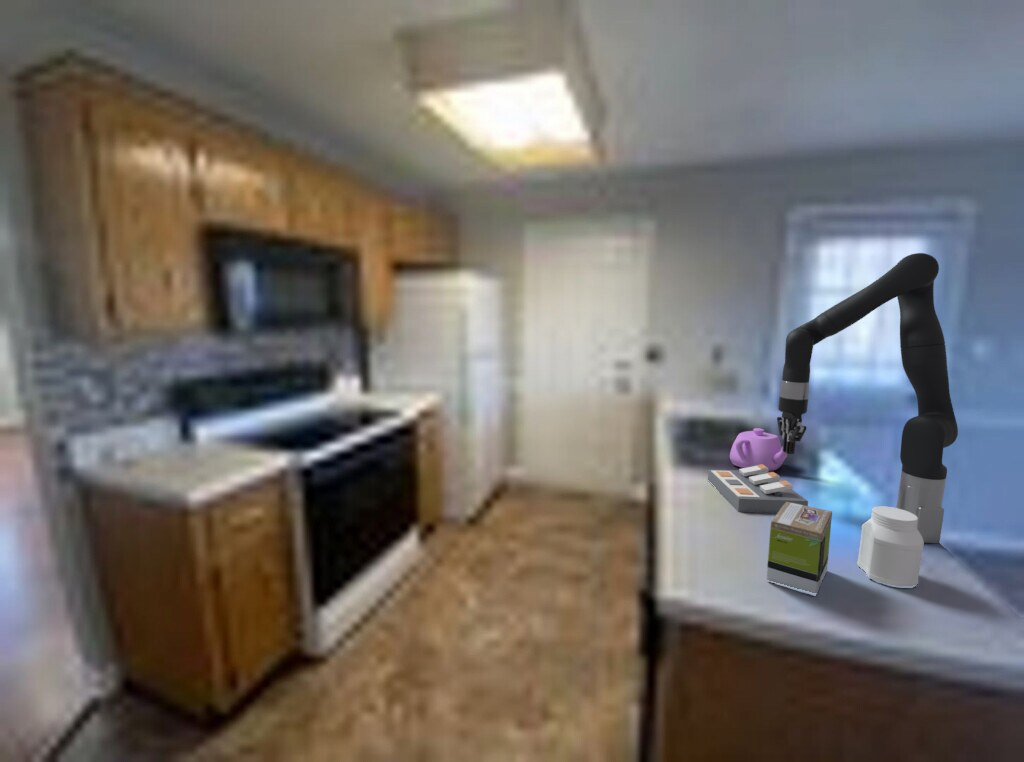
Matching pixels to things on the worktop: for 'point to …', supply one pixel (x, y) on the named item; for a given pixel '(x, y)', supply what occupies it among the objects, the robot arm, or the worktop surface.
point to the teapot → (757, 450)
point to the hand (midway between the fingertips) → (788, 452)
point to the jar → (891, 547)
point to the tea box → (799, 546)
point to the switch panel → (751, 492)
